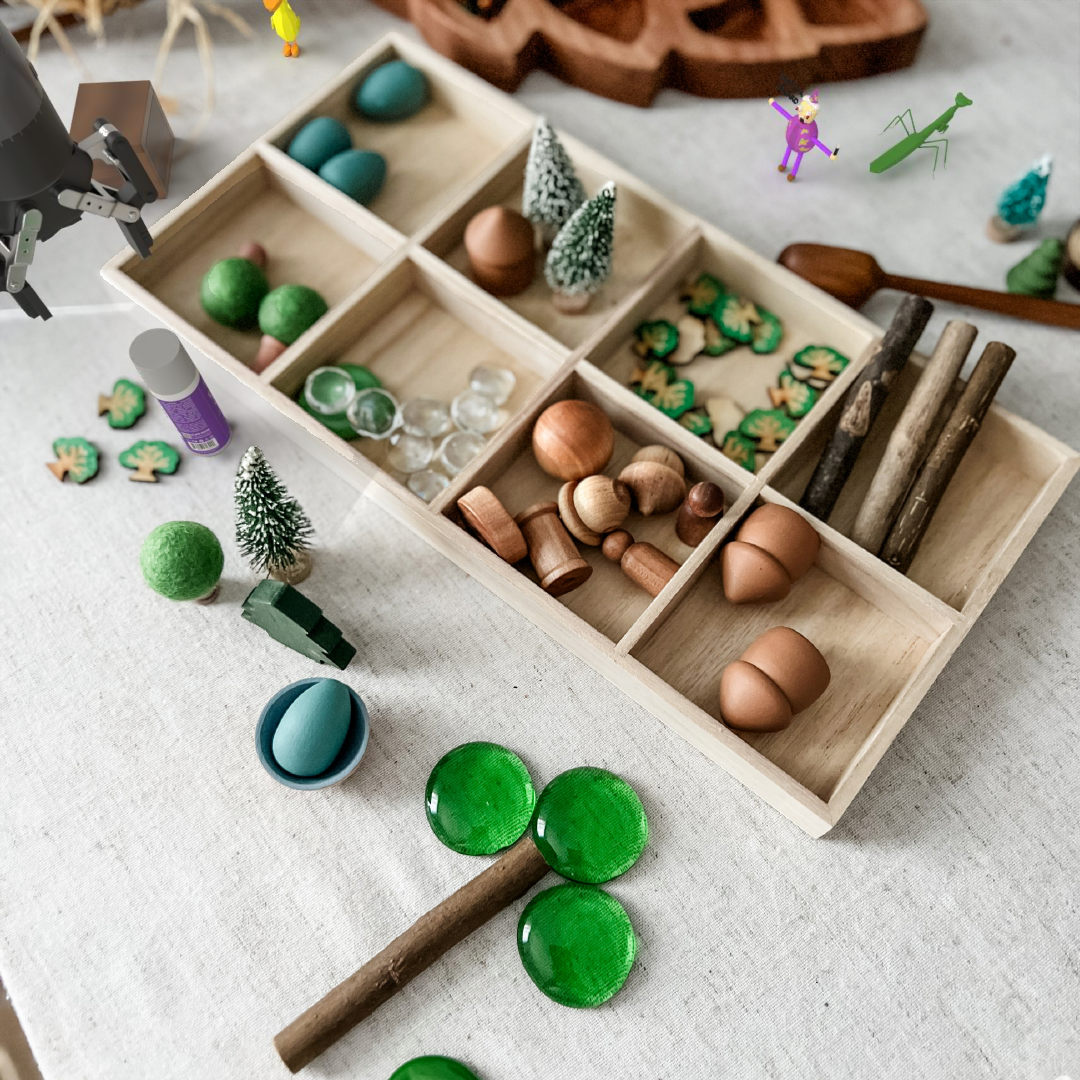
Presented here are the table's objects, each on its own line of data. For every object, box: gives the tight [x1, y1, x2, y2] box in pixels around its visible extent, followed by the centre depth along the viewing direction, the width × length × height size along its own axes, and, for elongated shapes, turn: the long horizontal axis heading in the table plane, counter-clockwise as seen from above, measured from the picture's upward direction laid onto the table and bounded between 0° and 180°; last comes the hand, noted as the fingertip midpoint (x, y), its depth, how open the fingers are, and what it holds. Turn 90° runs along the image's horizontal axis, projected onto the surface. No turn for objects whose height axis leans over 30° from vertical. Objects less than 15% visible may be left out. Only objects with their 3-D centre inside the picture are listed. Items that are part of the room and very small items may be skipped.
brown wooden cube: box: [68, 79, 175, 200], centre depth 108 cm, size 8×10×8 cm
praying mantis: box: [869, 91, 974, 179], centre depth 111 cm, size 9×15×4 cm, turn 127°
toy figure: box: [262, 0, 302, 58], centre depth 114 cm, size 7×4×12 cm, turn 176°
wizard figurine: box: [768, 72, 841, 182], centre depth 106 cm, size 11×3×12 cm, turn 35°
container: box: [128, 327, 233, 457], centre depth 89 cm, size 5×5×15 cm
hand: (93, 281), depth 71 cm, fingers open, 8 cm apart
